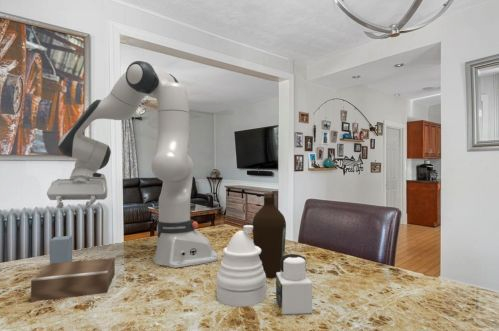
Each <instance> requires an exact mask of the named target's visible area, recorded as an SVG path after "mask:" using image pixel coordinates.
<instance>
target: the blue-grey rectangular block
mask: <svg viewBox="0 0 499 331" xmlns="http://www.w3.org/2000/svg"><path fill="white" fill-rule="evenodd" d="M62 262H73V235H65V236H64V235H63V236H54V237H53V238H52V239H50V240H49V265H50V264H51V263H62Z"/></svg>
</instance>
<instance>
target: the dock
mask: <svg viewBox="0 0 499 331" xmlns="http://www.w3.org/2000/svg"><path fill="white" fill-rule="evenodd" d="M115 259H116V257H111V258H99V259H87V260H76V261H72V262H62V263H51V264H50V263H49V265H48V266H47V267H45V268H44V269H43V270H42V271H40V273H39V274H37V275H36V276H35V277H33V278H31V279H30V302H38V301H39V302H40V301H47V300H54V299H56V300H57V299H63V298H64V299H65V298H73V297H81V296H90V295H99V294H100V295H101V294H107V293H108V291H109V289H110V286H111V285H112V284H111V283H112V282H113V279H114V276H115V272H116V270H115V267H116V266H115V264H116V263H115V262H116V261H115Z"/></svg>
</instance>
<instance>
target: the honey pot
mask: <svg viewBox="0 0 499 331" xmlns="http://www.w3.org/2000/svg"><path fill="white" fill-rule="evenodd" d="M242 228H243V230H238V231H237V232H236V233H235V232H234V234H233V236H232V237H231V239H230V240H229V243H228V245H227V246H226V247H224V248H223V251H222V253H223V257H222V259H221V261H220V265H219V268H218V272H217V273H216V293H215V294H216V299H217V301H218V302H220V303H222V304H224V305H226V306H229V307H237V308H240V307H241V308H245V307H251V306H255V305H256V306H257V305H258V304H260V303H262V302H263V301H264V300H265V299H266V298H267V297H266V296H267V282H266V281H267V277H266V274H265V272H264V269H263V266H262V261H261V260H260V258H259V254H260V253H261V248H259V247H257V246H255V245H254V243H253V238H252V237H251V236H250V235H249V234H251V233H253V226H252V225H251V224H250V225H249V224H246V225H243V227H242Z"/></svg>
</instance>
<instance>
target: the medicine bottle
mask: <svg viewBox="0 0 499 331" xmlns="http://www.w3.org/2000/svg"><path fill="white" fill-rule="evenodd" d="M275 283H276V284H275V300H276V304H277V306H278V309H279V311H280V313H281V315H302V314H303V315H304V314H313V281H312V280H311V279H310V278H309V277H308V275H307V259H306V257H305V256H303V255H301V254H296V253H287V254H285V255H284V256H282V257H281V272H277V273H276V277H275Z"/></svg>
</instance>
